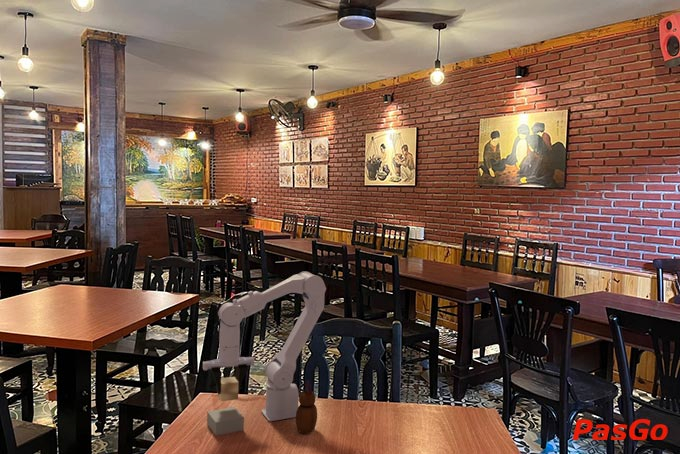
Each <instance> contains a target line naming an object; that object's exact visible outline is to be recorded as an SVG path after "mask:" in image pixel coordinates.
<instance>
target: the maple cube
mask: <svg viewBox="0 0 680 454" xmlns="http://www.w3.org/2000/svg"><path fill="white" fill-rule="evenodd" d="M238 384H239V382H238V381H237V379H236V376H228V377H221V394H218V393H217V397H218V398H219V400H220V402H227V401H234V400H235V401H236V400H239V392H238Z"/></svg>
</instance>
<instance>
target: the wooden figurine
mask: <svg viewBox="0 0 680 454" xmlns="http://www.w3.org/2000/svg"><path fill="white" fill-rule="evenodd" d="M298 403H299V404H298V409H297V411H296V417H295V426H296V428H297V430H298V432H299V433H301V434H305V435H306V434H311V433H313V432H314V431H315V429H316V426H317V422H318V409H317V406H316V405H315V403H316V394H315V391H312V390H310V380H307V382H306V384H305V390H303V391H301V392H299V401H298Z"/></svg>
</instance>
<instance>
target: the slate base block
mask: <svg viewBox="0 0 680 454" xmlns="http://www.w3.org/2000/svg"><path fill="white" fill-rule="evenodd" d="M206 425H207V426H208V427H209V429H210V430H211V431H212V433H213V434H214V436H215V437H216V436H221V435H226V434H231V433H236V432H240V431H244V429H245V428H244V426H245V416H244V415H243V414H242V413H241V412H240V411H239V410H238V409H237V408H236V406H230V407H225V408H219V409H216V410H215V409H214V410H208V411H206Z"/></svg>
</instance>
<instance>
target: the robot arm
mask: <svg viewBox="0 0 680 454" xmlns="http://www.w3.org/2000/svg"><path fill="white" fill-rule="evenodd" d="M326 290H327V287H326V284H325V282H324V280H323V278H322V277H321V276H319V275H315V274H312V273H311V272H309V271H301V272H299V273H297V274H293V275H292V276H290V277H288V278H287V279H285V280H283V281H281V282H279V283H277V284H275V285H273V286H271V287H270V288H268V289H266V290H264V291H262V292H260V291H258V290H254V291H252V290H250V291H247V294H246V295H244V296H241V297H240V298H238V299H237V298H234V299H232V302H226V303H224V304H222V305H221V306H220V307H219V309H218V311H217V315H218V318H219V319H220V324H219V335H218V336H219V338H218V339H219V340H218V341H219V342H218V343H219V344H218V345H219V347H218V358H216V359H212V360H206V361H202V370H203V371H208V370H210V373H211V375H212V377H213V379H214V383H215V388H216V389H215V390H216V393H217V395H218V394H221V378H222V374H223V373H222V370H221V368H222V369H223V368H233V367H235V368H234V369H235V378H236V379H237V381H238V382H239V384H238V393H239V392H240V390H241V386H242V383H243V380H244V378H245V377H246V374H247V372H248V370H249V369H248V368H249V367H248V366H255V358H254V357H253V356H246V357H245V356H240V347H241V346H240V342H241V341H240V340H241V329H240V326H241V325H240V323H242V321H243V319H246V318H247V317H250V316H252V315H253V314H255V313H258V312H260V311H262V310H264V309H265V307H266V305H267V303H270V302H272V301H274V300H276V299H279V298H281V297H283V296H286V295H288V294H290V293H294V294H301V295H302V298H303V301H304V304H305V306H304V308H303V310H302V311H301V313H300V315H299V317H298V319H297V320H296V323H295V324H294V326H293V328H292V329H291V332H290V333H289V335H288V337H287V338H286V341H285V343H284V344H283V346H282V348H281V349H280V351H279V352H277V353H276V354H275V355H274V356H273V358H272V359H271V360H269V361H268V362H267V363H266V365H265V367H264V373H265V374H264V375H265V376H266V378H267V382H266V384H265V385H266V389H265V408H263V409H260V412H261V413H262V414H263V415H264V417H265V418H266V420H267V421H268V422H273V421H281V420H286V419H292V418H296V411H297V409H298V407H299V396H300V392H299V388H298V386H297V384H296V383H293V382H294V374H295V372H296V369H297V359H298V357H299V356H300V353H301V351H302V349H303V348H304V346H305V344H306V342H307V341H308V339H309V337H310V334H311V333H312V331H313V329H314V328H315V325H316V324H317V322H318V320H319V318H320V316H321V314H322V313H323V310H324V309H325V293H326Z"/></svg>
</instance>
